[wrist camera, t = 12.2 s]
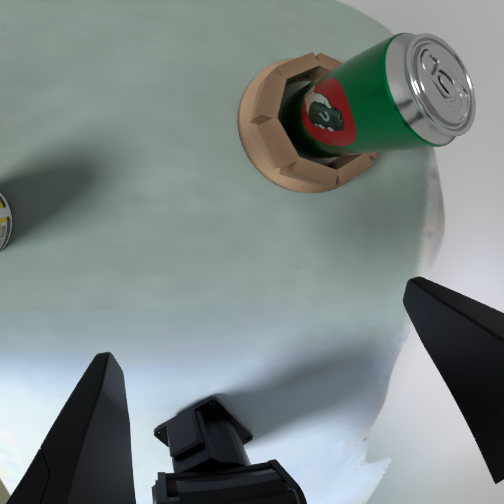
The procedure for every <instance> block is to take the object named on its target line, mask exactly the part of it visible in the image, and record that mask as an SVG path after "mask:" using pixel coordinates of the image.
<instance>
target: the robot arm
mask: <svg viewBox="0 0 504 504" xmlns="http://www.w3.org/2000/svg"><path fill="white" fill-rule="evenodd" d="M403 304H404V307H405V309H406V311H407V313H408V315H409V317H410V319H411V321H412V323H413V325H414V327H415V329H416V331H417V333H418V335H419V337H420V339H421V341H422V343H423V345H424V347H425V349H426V350H427V352H428V354H429V355H430V357H431V359H432V360H433V362H434V364H435V365H436V367H437V369H438V371H439V372H440V374H441V376H442V378H443V379H444V381H445V383H446V385H447V387H448V388H449V390H450V392H451V394H452V396H453V397H454V399H455V401H456V403H457V405H458V407H459V409H460V411H461V412H462V414H463V416H464V418H465V420H466V422H467V424H468V426H469V428H470V430H471V432H472V434H473V436H474V438H475V441H476V443H477V445H478V447H479V449H480V451H481V454H482V456H483V458H484V460H485V462H486V465H487V467H488V469H489V471H490V473H491V476H492V478H493V481H494V482H495V484H497V483H499V482H500V481H502V480H503V479H504V313H502V312H500V311H498V310H496V309H494V308H491V307H489V306H487V305H485V304H482V303H480V302H478V301H476V300H474V299H471V298H469V297H467V296H464V295H462V294H460V293H458V292H455V291H453V290H451V289H448V288H446V287H444V286H441V285H439V284H437V283H434V282H432V281H430V280H427V279H425V278H423V277H415V278H412V279H409V280H408V282H407V285H406V289H405V293H404V297H403ZM211 402H214V403H213V404H210V403H211ZM158 432H161V433H158ZM154 436H155V437H156V438H158V439H159V440H160V441H161V442H162V443H164V444H165V445H166V446H167V447H169V451H170V456H171V457H172V463H173V470H174V473H165V472H158V480H156V485H154V486H153V487H152V496H153V504H307V502H306V499H305V496H304V494H303V491H302V490H301V488H300V486H299V485H298V484H297V483H296V482H295V480H294V479H293V478H292V477H291V476H290V475H289V474H288V473H287V472H286V470H285V469H284V468H283V467H282V466H281V465H280V464H279V463H278V461H277V460H276V459H274V460H269V461H268V462H265V463H259V464H253V465H251V463H250V461H249V458H248V456H247V454H246V451H245V449H244V446H243V445H244V444H246V443H247V442H249V441H251V440H252V439H253V435H252V433H251V432H250V431H249V430H248V429H247V428H246V427H245V426H244V425H243V424H242V423H241V422H240V421H239V420H238V419H237V418H236V417H235V416H234V415H233V414H232V413H231V412H230V411H229V410H228V409H227V408H226V407H225V406H224V405H223V404H222V403H221V402H220V401H219V400H218V399H217V398H216V397H209V398H207V399H206V400H204V401H202V402H201V403H199V404H197V405H196V406H194V407H192V408H190V409H188V410H186V411H184V412H183V413H181V414H179V415H177V416H176V417H174V418H172V419H170V420H169V421H167V422H166V423H164V424H162V425H160V426H159V427H157V428H155V429H154ZM247 436H248V437H247ZM40 448H41V449H39V450H38V452H37V454H36V456H35V457H34V459H33V461H32V463H31V464H30V466H29V468H28V470H27V471H26V473H25V475H24V476H23V478H22V479H21V481H20V483H19V484H18V486H17V487H16V489H15V490H14V492H13V493H12V495H11V497H10V498H9V500H8V501H7V503H6V504H136V499H135V490H134V479H133V468H132V454H131V435H130V421H129V413H128V406H127V399H126V391H125V382H124V375H123V371H122V369H121V367H120V366H119V364H118V363H117V361H116V359H115V358H114V356H113V355H112V353H110V352H105V353H99V354H97V355H96V356H95V357H94V359H93V360H92V362H91V363H90V365H89V367H88V368H87V370H86V371H85V373H84V374H83V376H82V378H81V379H80V381H79V382H78V384H77V386H76V387H75V389H74V390H73V392H72V394H71V395H70V397H69V399H68V400H67V402H66V403H65V405H64V407H63V408H62V410H61V412H60V413H59V415H58V417H57V419H56V420H55V422H54V424H53V425H52V427H51V429H50V431H49V432H48V434H47V436H46V438H45V439H44V441H43V443H42V445H41V447H40Z"/></svg>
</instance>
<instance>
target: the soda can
mask: <svg viewBox="0 0 504 504" xmlns="http://www.w3.org/2000/svg"><path fill="white" fill-rule="evenodd" d="M475 106H476V102H475V94H474V89H473V85H472V82H471V79H470V76H469V74H468V71H467V69H466V67H465V66H464V64H463V62H462V60H461V59H460V57H459V56H458V55H457V53H456V52H455V51H454V50H453V49H452V48H451V47H450V46H449V45H448V44H447V43H446V42H445V41H444V40H442V39H441V38H439V37H437V36H435V35H432V34H418V35H415V34H411V33H400V34H397V35H394V36H392V37H390V38H388V39H386V40H384V41H382V42H380V43H379V44H377V45H375V46H373V47H371V48H369V49H367V50H365V51H364V52H362V53H360V54H358V55H356V56H355V57H353V58H351V59H349V60H347V61H346V62H344V63H342V64H340V65H339V66H337V67H335V68H334V69H332V70H330V71H329V72H327V73H325V74H324V75H322V76H320V77H319V78H317V79H315V80H314V81H312V82H310V83H309V84H307V85H306V86H304V87H302V88H301V89H299V90H298V91H296V92H295V93H293V94H292V95H291V96H290V97H289V98H288V99H287V101H286V102H285V104H284V107H283V109H282V114H281V123H282V127H283V129H284V130H285V132H286V134H287V136H288V137H289V139H290V141H291V143H292V145H293V146H294V148H295V150H296V151H298V152H299V153H300V154H302V155H304V156H306V157H309V158H312V159H327V158H334V157H341V156H349V155H357V154H365V153H374V152H383V151H393V150H403V149H415V148H427V147H440V146H445V145H447V144H449V143H450V142H452V141H453V140H454V139H455V137H456V136H460V135H462V134H465V133H466V132H467V131H468V130H469V129H470V127H471V126H472V123H473V121H474V117H475V110H476V109H475V108H476V107H475Z"/></svg>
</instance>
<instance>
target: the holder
mask: <svg viewBox="0 0 504 504" xmlns="http://www.w3.org/2000/svg"><path fill="white" fill-rule="evenodd" d="M340 64H342V63H341V62H339V61H337V60H335V59H333V58H331V57H329V56H326V55H324V54H322V53H320V54H318V55H317V56H316V57H315V55H314V53H313V52H312V53H310V54H307V55H304V56H302V57H299V58H296V59H287V60H282V61H279V62H276V63H274V64H272V65H270V66H268V67H267V68H265V69H264V70H262V71H261V72H260V73H259V74H258V75H257V76H256V77H255V78H254V79H253V80H252V81H251V83H250V84H249V85H248V87H247V88H246V90H245V92H244V94H243V96H242V99H241V102H240V105H239V110H238V131H239V135H240V140H241V143H242V145H243V148H244V150H245V152H246V154H247V156H248V158H249V159H250V161H251V162H252V164H253V165H254V166H255V167H256V168H257V170H258V171H259V172H260V173H261V174H262V175H264V176H265V177H266V178H267V179H268V180H270V181H271V182H273V183H274V184H276V185H278V186H280V187H282V188H285V189H288V190H291V191H295V192H304V193H320V192H325V191H330V190H332V189H335V188H337V187H339V186H341V185H343V184H345V183H346V182H348V181H349V180H351V179H352V178H354V177H355V176H357V175H358V174H360V173H361V172H363V171H364V170H366V169H367V168H369V167H370V166H372V165H373V163H372V161H371V159H376V158H377V155H378V152H374V153H365V154H357V155H349V156H341V157H334V158H327V159H312V158H309V157H306V156H304V155H302V154H300V153H299V152H298V151H296V150H295V148H294V146H293V145H292V143H291V141H290V139H289V137H288V136H287V134H286V132H285V130H284V129H283V127H282V123H281V114H282V109H283V107H284V104H285V102H286V101H287V99H288V98H289V97H290V96H291V95H292V94H293V93H295V92H296V91H298V90H299V89H301V88H302V87H304V86H306V85H307V84H309V83H310V82H312V81H314V80H315V79H317V78H319V77H320V76H322V75H324V74H325V73H327V72H329V71H330V70H332V69H334V68H335V67H337V66H339V65H340Z"/></svg>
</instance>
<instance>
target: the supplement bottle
mask: <svg viewBox="0 0 504 504" xmlns="http://www.w3.org/2000/svg"><path fill="white" fill-rule="evenodd" d="M11 230H12V215H11V211H10V208H9V205H8V203H7V201H6V199H5V198H4V196H3V195H2V194H1V193H0V251H1V250H2V249H3V248H4V247H5V245H6V244H7V242H8V240H9V238H10V234H11Z"/></svg>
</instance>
